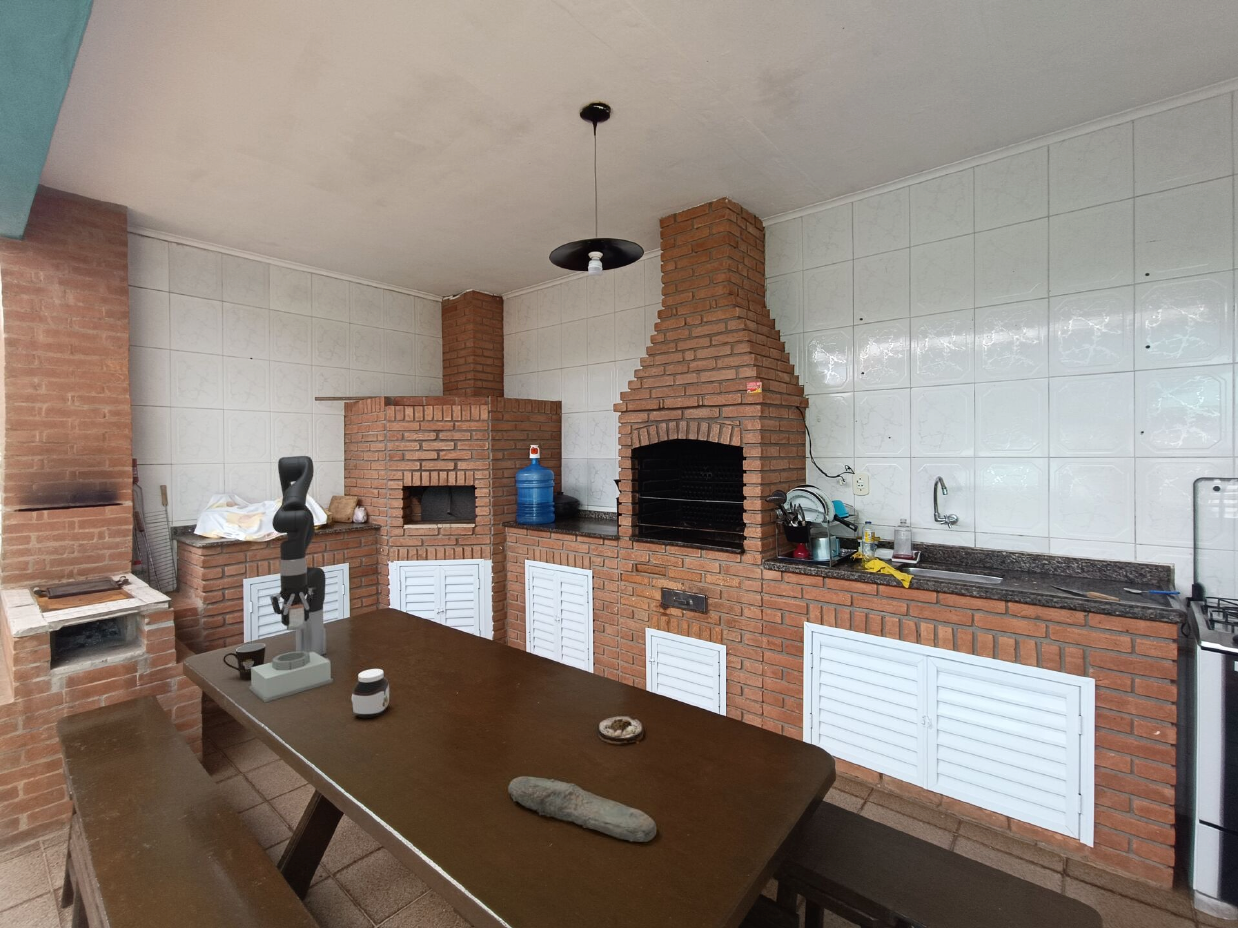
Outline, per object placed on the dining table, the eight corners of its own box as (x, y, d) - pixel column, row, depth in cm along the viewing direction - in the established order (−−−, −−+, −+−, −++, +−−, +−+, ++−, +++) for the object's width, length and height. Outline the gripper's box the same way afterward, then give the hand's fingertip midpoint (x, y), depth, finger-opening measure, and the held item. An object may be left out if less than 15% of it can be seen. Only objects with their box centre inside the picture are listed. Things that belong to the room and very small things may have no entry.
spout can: (301, 623, 190) (300, 595, 189) (307, 627, 187) (306, 598, 186) (283, 628, 186) (282, 599, 185) (290, 631, 182) (289, 602, 182)
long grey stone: (643, 862, 107) (663, 833, 116) (645, 834, 107) (665, 807, 116) (496, 802, 123) (523, 781, 132) (497, 778, 123) (525, 758, 132)
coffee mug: (272, 672, 198) (271, 643, 198) (253, 682, 189) (253, 652, 189) (241, 670, 199) (240, 642, 199) (221, 680, 191) (221, 651, 190)
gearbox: (319, 669, 200) (318, 642, 200) (337, 680, 190) (337, 652, 190) (249, 688, 184) (248, 659, 184) (265, 702, 174) (264, 671, 174)
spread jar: (372, 721, 161) (371, 680, 161) (337, 718, 163) (336, 677, 163) (397, 703, 173) (396, 665, 173) (364, 700, 175) (363, 662, 175)
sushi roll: (596, 751, 145) (596, 735, 145) (590, 724, 160) (590, 709, 160) (653, 746, 147) (653, 730, 147) (641, 720, 162) (641, 705, 162)
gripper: (311, 566, 193) (313, 615, 194) (264, 574, 182) (266, 626, 183) (321, 569, 188) (323, 619, 189) (273, 577, 177) (275, 631, 178)
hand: (295, 622), depth 186 cm, fingers closed on spout can, 5 cm apart
